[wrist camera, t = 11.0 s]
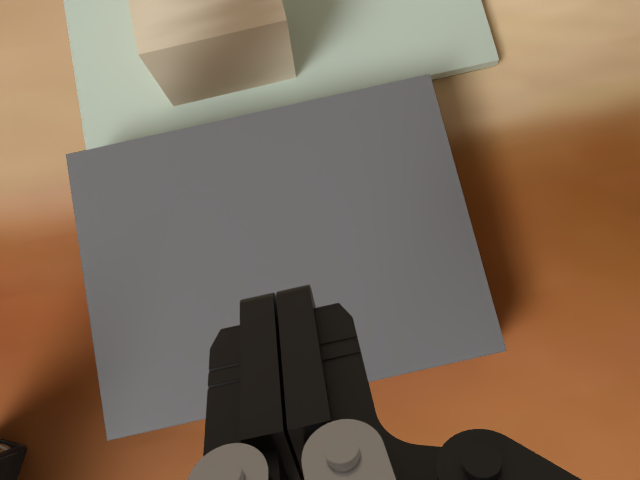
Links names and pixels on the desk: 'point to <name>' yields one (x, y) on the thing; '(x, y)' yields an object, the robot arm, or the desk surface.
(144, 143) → the plate
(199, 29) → the birch block
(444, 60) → the mat
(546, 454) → the desk surface
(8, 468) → the ammunition clip
